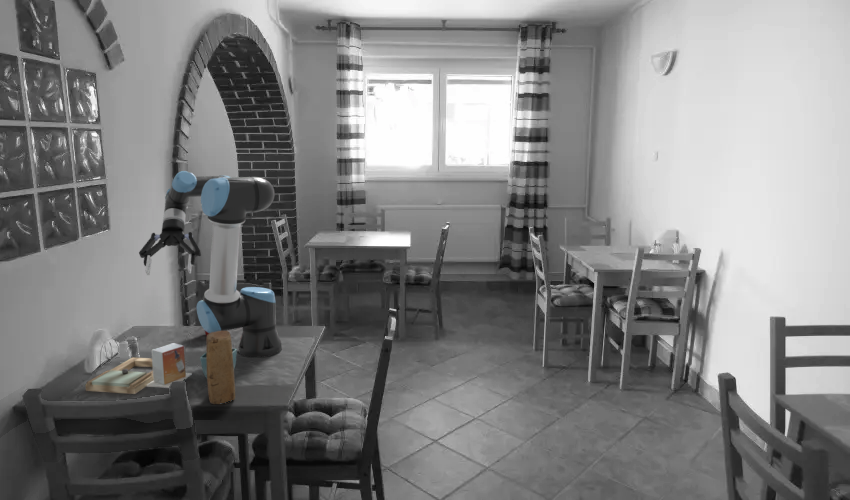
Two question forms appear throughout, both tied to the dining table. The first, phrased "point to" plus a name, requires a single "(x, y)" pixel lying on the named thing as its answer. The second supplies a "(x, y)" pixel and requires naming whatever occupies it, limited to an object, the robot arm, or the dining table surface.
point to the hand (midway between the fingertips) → (168, 272)
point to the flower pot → (204, 361)
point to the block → (220, 367)
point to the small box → (168, 363)
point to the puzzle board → (123, 378)
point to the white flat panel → (156, 384)
